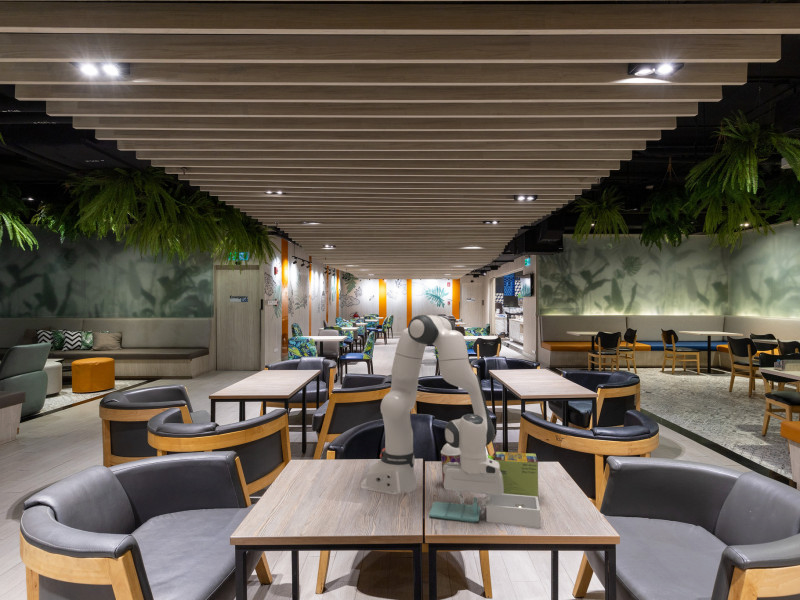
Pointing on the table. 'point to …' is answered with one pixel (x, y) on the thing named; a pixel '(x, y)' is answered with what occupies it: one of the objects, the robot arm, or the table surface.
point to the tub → (513, 510)
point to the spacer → (520, 505)
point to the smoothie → (449, 455)
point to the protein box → (519, 473)
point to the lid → (456, 511)
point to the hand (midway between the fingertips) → (473, 504)
